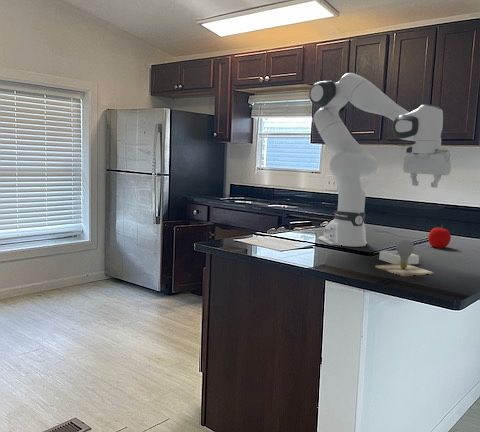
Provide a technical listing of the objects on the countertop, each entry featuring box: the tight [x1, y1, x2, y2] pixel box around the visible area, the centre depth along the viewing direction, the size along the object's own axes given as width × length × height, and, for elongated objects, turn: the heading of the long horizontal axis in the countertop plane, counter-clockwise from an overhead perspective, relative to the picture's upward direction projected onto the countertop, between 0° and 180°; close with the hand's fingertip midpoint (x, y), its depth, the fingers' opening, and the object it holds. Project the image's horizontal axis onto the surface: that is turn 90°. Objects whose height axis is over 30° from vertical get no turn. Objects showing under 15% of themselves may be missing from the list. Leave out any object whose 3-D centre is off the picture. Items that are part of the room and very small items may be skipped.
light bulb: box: [395, 238, 415, 269], centre depth 159 cm, size 6×5×10 cm
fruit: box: [427, 224, 452, 249], centre depth 207 cm, size 9×9×10 cm
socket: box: [378, 250, 420, 265], centre depth 173 cm, size 10×10×3 cm
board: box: [374, 263, 435, 277], centre depth 159 cm, size 13×13×1 cm
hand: (424, 186), depth 179 cm, fingers open, 8 cm apart
